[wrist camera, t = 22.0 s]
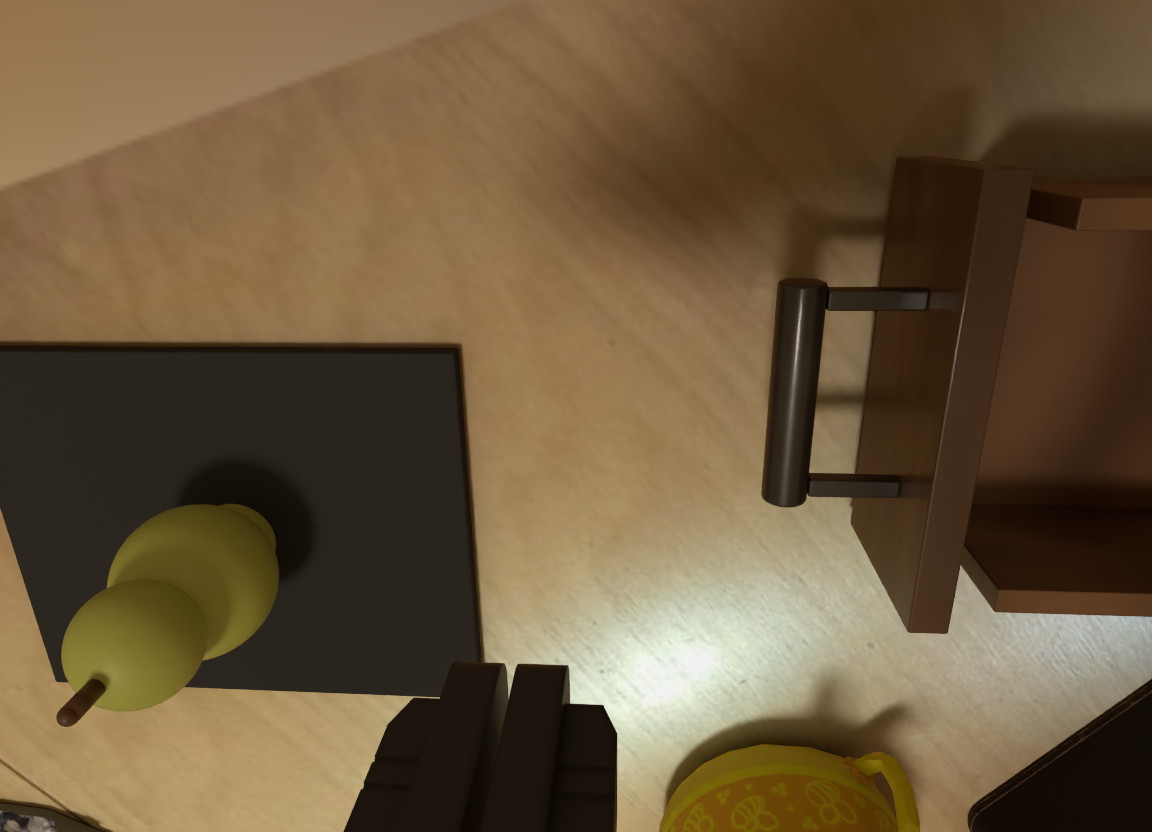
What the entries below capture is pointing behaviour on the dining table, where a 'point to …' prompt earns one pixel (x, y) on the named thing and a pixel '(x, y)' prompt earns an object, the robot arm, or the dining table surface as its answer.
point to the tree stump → (37, 820)
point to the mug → (791, 793)
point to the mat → (257, 496)
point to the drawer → (990, 394)
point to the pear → (170, 607)
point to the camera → (1083, 781)
